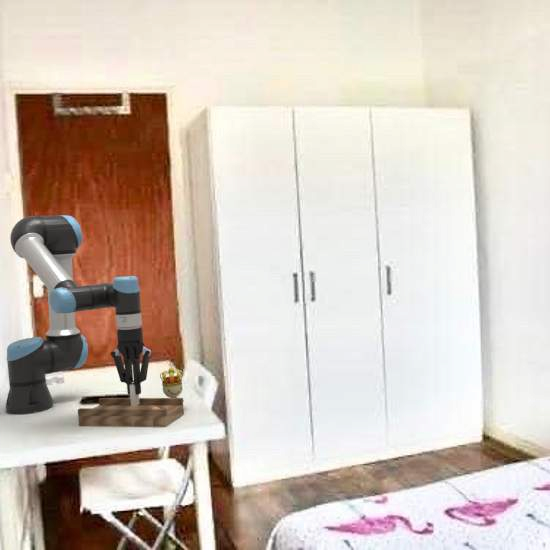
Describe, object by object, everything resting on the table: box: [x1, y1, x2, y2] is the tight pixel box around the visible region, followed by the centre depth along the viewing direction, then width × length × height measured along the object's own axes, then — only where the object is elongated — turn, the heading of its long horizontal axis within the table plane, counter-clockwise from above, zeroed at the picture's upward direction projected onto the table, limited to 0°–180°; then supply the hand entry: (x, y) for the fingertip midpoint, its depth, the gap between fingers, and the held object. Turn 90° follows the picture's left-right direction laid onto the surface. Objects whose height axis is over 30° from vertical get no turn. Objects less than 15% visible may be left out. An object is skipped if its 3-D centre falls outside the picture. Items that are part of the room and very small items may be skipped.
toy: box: [159, 362, 184, 403], centre depth 219 cm, size 7×7×15 cm
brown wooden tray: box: [77, 397, 185, 428], centre depth 210 cm, size 28×14×5 cm, turn 76°
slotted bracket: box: [46, 371, 65, 386], centre depth 279 cm, size 13×7×8 cm, turn 24°
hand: (135, 404), depth 209 cm, fingers closed
